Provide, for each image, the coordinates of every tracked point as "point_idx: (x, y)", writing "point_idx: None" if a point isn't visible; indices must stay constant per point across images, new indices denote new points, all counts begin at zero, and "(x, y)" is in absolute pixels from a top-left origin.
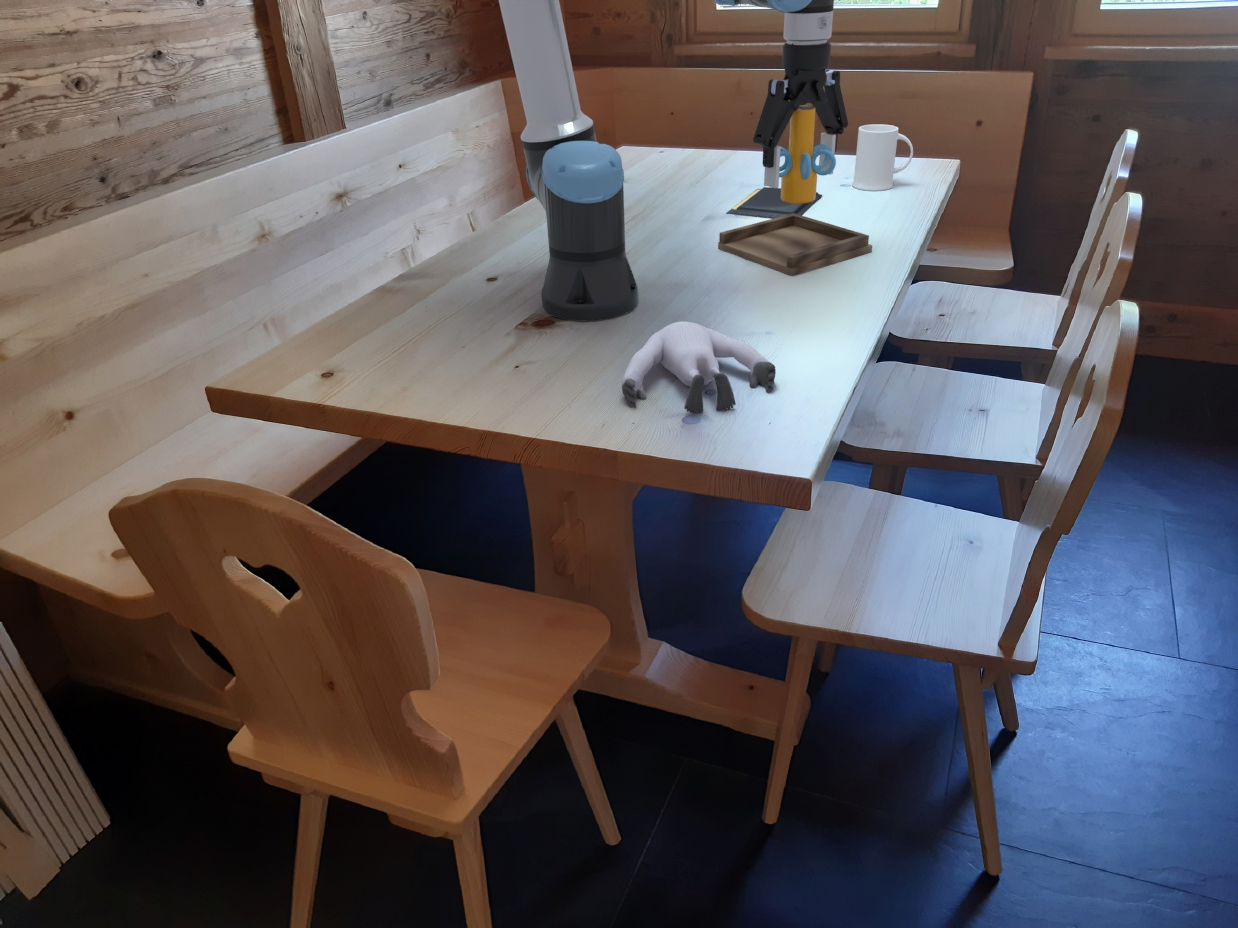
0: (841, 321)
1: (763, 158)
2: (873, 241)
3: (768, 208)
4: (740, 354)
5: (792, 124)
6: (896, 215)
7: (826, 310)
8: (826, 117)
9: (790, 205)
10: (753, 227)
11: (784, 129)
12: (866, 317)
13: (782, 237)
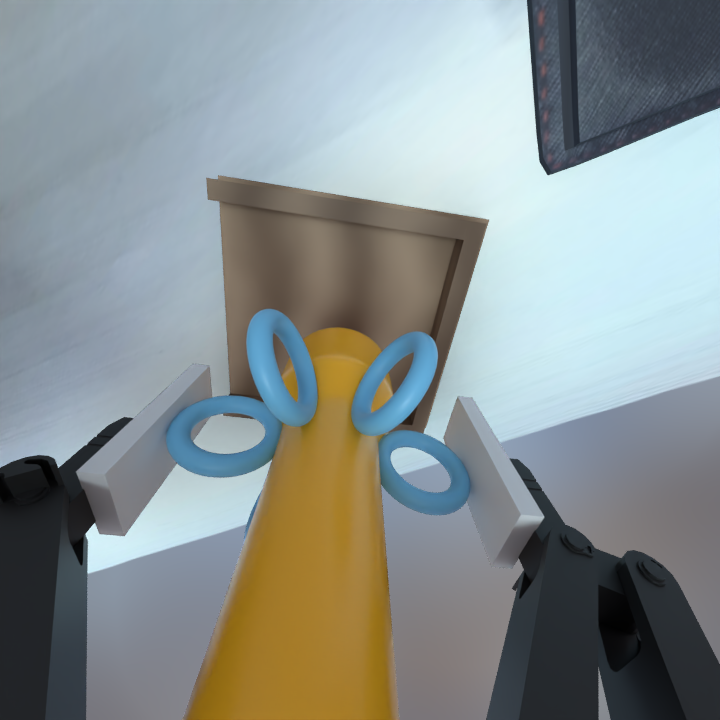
0: (175, 514)
1: (91, 445)
2: (479, 394)
3: (585, 38)
4: None
5: (215, 626)
6: (673, 339)
7: (183, 491)
8: (500, 681)
9: (645, 84)
10: (318, 216)
11: (83, 642)
12: (208, 524)
13: (359, 280)
